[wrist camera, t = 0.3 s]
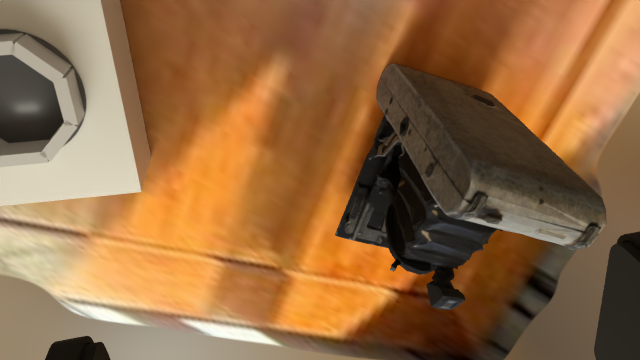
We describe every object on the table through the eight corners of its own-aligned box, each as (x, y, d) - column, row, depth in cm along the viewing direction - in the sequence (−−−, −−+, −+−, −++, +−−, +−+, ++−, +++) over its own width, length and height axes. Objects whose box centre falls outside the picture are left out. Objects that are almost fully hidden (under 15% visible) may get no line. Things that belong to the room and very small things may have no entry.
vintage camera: (320, 209, 52) (368, 384, 35) (385, 52, 45) (483, 174, 28) (412, 230, 55) (499, 401, 38) (486, 85, 48) (632, 214, 31)
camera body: (-116, -109, 36) (-203, -106, 28) (96, -117, 37) (65, -117, 30) (-16, 172, 45) (-61, 227, 38) (151, 156, 46) (137, 207, 39)
